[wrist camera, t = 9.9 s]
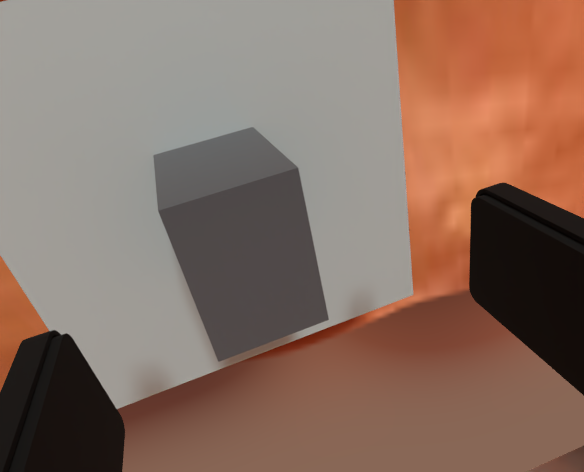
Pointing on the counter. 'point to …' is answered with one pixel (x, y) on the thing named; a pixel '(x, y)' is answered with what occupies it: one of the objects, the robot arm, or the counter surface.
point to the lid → (200, 176)
